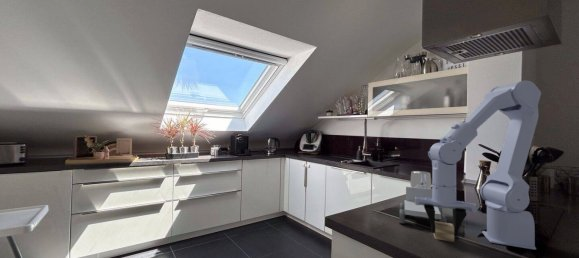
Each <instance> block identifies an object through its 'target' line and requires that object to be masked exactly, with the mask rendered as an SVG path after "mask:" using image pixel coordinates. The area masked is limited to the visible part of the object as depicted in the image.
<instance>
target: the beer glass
mask: <svg viewBox="0 0 579 258" xmlns="http://www.w3.org/2000/svg"><path fill="white" fill-rule="evenodd" d="M410 187H415V188H426V189H432V177H431V172H428V171H424V170H423V171H421V170H412V171H411V173H410Z"/></svg>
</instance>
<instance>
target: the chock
mask: <svg viewBox="0 0 579 258" xmlns="http://www.w3.org/2000/svg"><path fill="white" fill-rule="evenodd" d="M432 234H433V236H434V239H435V240H441V241H445V242H452V243H455V237H454V226H453V223H451V222H447V223H444V222H439V221H438V220H435V233H432Z"/></svg>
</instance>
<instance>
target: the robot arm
mask: <svg viewBox="0 0 579 258" xmlns="http://www.w3.org/2000/svg"><path fill="white" fill-rule="evenodd" d="M541 95H542V92H541V90H540V89H539V88H538V87H537V85H536V84H535V83H534V82H532V80H531V81H530V80H521V81H517V82H514V83H510V84H506V85H501V86H495V87H493V88H492V89H490V91H488V93H486V94H485V95H484V99H483V100H482V101H481V102H480V103H479V105H478V106H477V107H476V108H475V109H474V110H473V112H472V113H471V114H470V115H469V117H468V118H467V119H466V120H465V121H464V122H463V121H462V122H457V123H453V124H452V125H451V126H450V128H451V129H450V130H449V131H448V132H447V133H446V135H445V136H444V137H443V136H441V138H440V139H439V142H435V143H434V144H432V146H431V147H430V148H429V151H427V156H428V157H429V159H430V161H431V166H432V177H431V189H432V198H423V197H415V205H424V208H425V211H426V213H427V215H428V217H429V218H428V217H427V218H428V220H429V222H430V228H431V229H430V230H431V233H432V234H433V233H435V221H436V219H435V210H434V207H441V208H442V209H451V210H452V224H453V226H454V238H457V237H458V234H459V229H460V227H461V225H462V224H463V222H464V220H465V219H466V218H467V212H472V213H477V204H476V203H475V202H465V201H462V200H461V201H460V200H457V163H458V162H459V161H461V159H462V158H463V157H462V156H463V152H464V150H465V148H467V147H468V145H470V143H472V142H473V140H475V138H476V137H477V136H478V129H479V128H480V127H481V126H482V125H483V124H484V123H486V121H488V120H489V119H490V118H491V117H492V116H493V115H494V114H495V113H496V112H498V111H499V112H501V113H502V114H503V115H505V116H506V117H508V119H509V124H508V128H507V131H506V134H505V139H504V142H503V146H502V148H501V152H500V155H499V159H498V163H497V165H496V166H497V167H496V169H495V171H494V172H492V173H491V174H489V175H487V177H486V180H485V182H483V184H482V185H481V187H480V189H479V191H480V196H481V198H482V200H483V201H484V202H485V206H486V231H485V230H482V231H481V233H482V234H483V235H484V237H485V238H486V240H488V241H489V243H492V244H498V245H504V246H508V247H509V246H511V247H516V248H523V249H528V250H533V251H534V250H537V247H536V245H535V244H536V243H535V242H536V240H535V239H536V238H535V236H536V235H535V234H536V233H535V232H536V230H535V220H534V216H533V214H532V213H531V212H530V211H528V210H527V211H526V209H527V208H528V206H529V204H530V196H529V191H530V185H529V184H528V183H527V182H526V181H525V180H524V179H523V174H524V170H525V167H526V163H527V159H528V156H529V153H530V148H531V146H532V141H533V138H534V134H535V131H536V128H537V124H538V120H539V115H540V114H539V102H540V99H541Z"/></svg>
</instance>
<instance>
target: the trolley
mask: <svg viewBox="0 0 579 258" xmlns="http://www.w3.org/2000/svg"><path fill="white" fill-rule="evenodd" d="M415 197H423V198H432V188H431V189H426V188H415V187H411V186H405V199H404V200H403V201H404V202H399V224H402V225H405V223H406V220H405V219H406V216H407V215H409V216H414V217H422V218H428V219H429V217H428V215H427V213H426V211H425V208H424V205H415ZM434 210H435V221H437V222H444V223H448V222H447V221H448V220H447V215H446V214H444V213H443V208H441V207H434Z"/></svg>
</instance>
